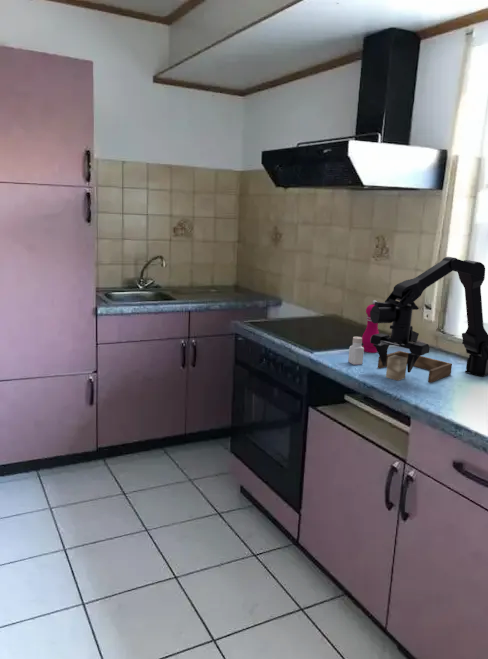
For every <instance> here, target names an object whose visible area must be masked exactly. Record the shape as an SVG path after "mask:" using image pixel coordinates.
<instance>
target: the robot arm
mask: <svg viewBox="0 0 488 659" xmlns="http://www.w3.org/2000/svg"><path fill="white" fill-rule="evenodd" d="M451 272H457V274H458V279H459V281H460V283H461V284H462V287H463V289H464V297H465V310H466V319H467V320H466V321H467V329H466V331H465V332H463V333H461V338H462V343H461V344H462V345H463V346H464V348H465V352H466V354H469V355H468V358H467V359H466V365H465V366H466V367H465V370H464V373H466V374H470V375H473V376H474V375H475V376H478V377H486V376H488V333H487V331H486V329H485V327H484V316H483V305H482V304H483V301H482V290H481V288H482V284H484V283H483V282H484V281H485V278H486V276H485V275H486V266H485V264H483V263H482V262H480V261H474V260H471V259H470V260H469V259H465V260H462V259H459V258H457V257H452V256H446V257H443V258H442V260H441V261H439V262H438V263H435V264H434V265H433V266H431V267H430V268H428V269H426V270H425V271H424V272H422V273H420V274H419V275H417V276H415V277H414V278H410V279H406V280H404V281H401V282H399V283H397V284H395V285H394V287H393V290H392V292H391V293H390V294H389V295H388V296H387V297H386V299H385V301H384V302H383V301H382V302H381V301H377V302H375V306H373V307H372V309H371V311H370V318H371V321H372V322H373V323H378V324H390V326H389V329H390V330H391V333H390V335H389V334H386V333H380V332H379V334H375V335H372V337H371V339H370V343H372V344H374V345H373V346H374V347H376V349H377V352H376V353H377V354H378V355H379V356H378V357H380V359H381V362H382V364H383V366H385V365H386V361H387V354H388V350H389V347H390V345H391V346H396V347H400V348H404V349H409V352H407V353H408V364H407V366H406V371H407V373H411V372H412V369H413V368H414V367H415V366H414V364H415V362H416V361H417V359H418V358H419V356H424V355H426V354H429V353H430V347H431V346H429V344H428V343H425V342H421V341H418V338H419V332H416V331H413V329H414V328H413V325H412V317H413V316H412V315H413V311H415V310H416V311H417V310H419V308H420V307H419V306H417V305H416V303H415V302H416V300H418V299H419V298H420V297H421V296H422V294H423V292H424V291H425V290H426V289H427V288H429V287H431V286H432V285H433V284H435V283H437V282H438V281H439V280H441V279H442V278H444V277H446V276H447V275H449V274H450V273H451ZM412 342H413V343H412Z"/></svg>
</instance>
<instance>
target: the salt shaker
mask: <svg viewBox="0 0 488 659" xmlns="http://www.w3.org/2000/svg"><path fill="white" fill-rule="evenodd" d="M362 344H363V343H362V336H353V337H352V344H351V345H350V346H349V349H348V363H350V364H352V365H354V366H355V365H356V366H357V365H363V361H364V353H365V352H364V348H363V347H362Z"/></svg>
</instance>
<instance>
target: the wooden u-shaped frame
mask: <svg viewBox="0 0 488 659" xmlns="http://www.w3.org/2000/svg"><path fill="white" fill-rule="evenodd" d="M408 353H409V352H406V351H403V350H398V351H395V352H394V351H393V352H391V353H387V361H386V365H385V366H383V364H382V362H381V359H380V356H378V361H377V369H383V368H387V362H388V357H390V356H393V355H398V356H402V357H406V358H407V365H408ZM413 367H416V368H419V369H423V370H427V371H428V378H427V382H428V383H430V384H431V383H434V382H436V381H439V380H441V379H443V378H447V377H449V376H451V374H452V367H453V364H452V362H447V361H443V360H439V359H435V358H430V357H426V356H424V355H421V356H419V358H418V359H417V361H416V362H415V364H414V366H413Z"/></svg>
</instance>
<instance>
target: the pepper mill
mask: <svg viewBox="0 0 488 659" xmlns="http://www.w3.org/2000/svg"><path fill="white" fill-rule="evenodd" d="M371 302H372V304H369V305H367V306H366V309H365V312H366V315H367V316H366V321H367V323H366V328H365V330H364V332H363V334H362V336H361V337H362V344H363V345H362V344H361V346H362V347H363V348H364V353H370V354H375V353H376V354H377V353H378V352H377V349H376V347H374V346H373V345H374V344H372V343H370V339H371V337H372V335H375V334H379V333H380V331H379V327H378V326H379V323H373V322H372V321H371V318H370V311H371V309H372V307H373V306H375V302H378V301H377V300H376V299H373V301H371Z"/></svg>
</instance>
